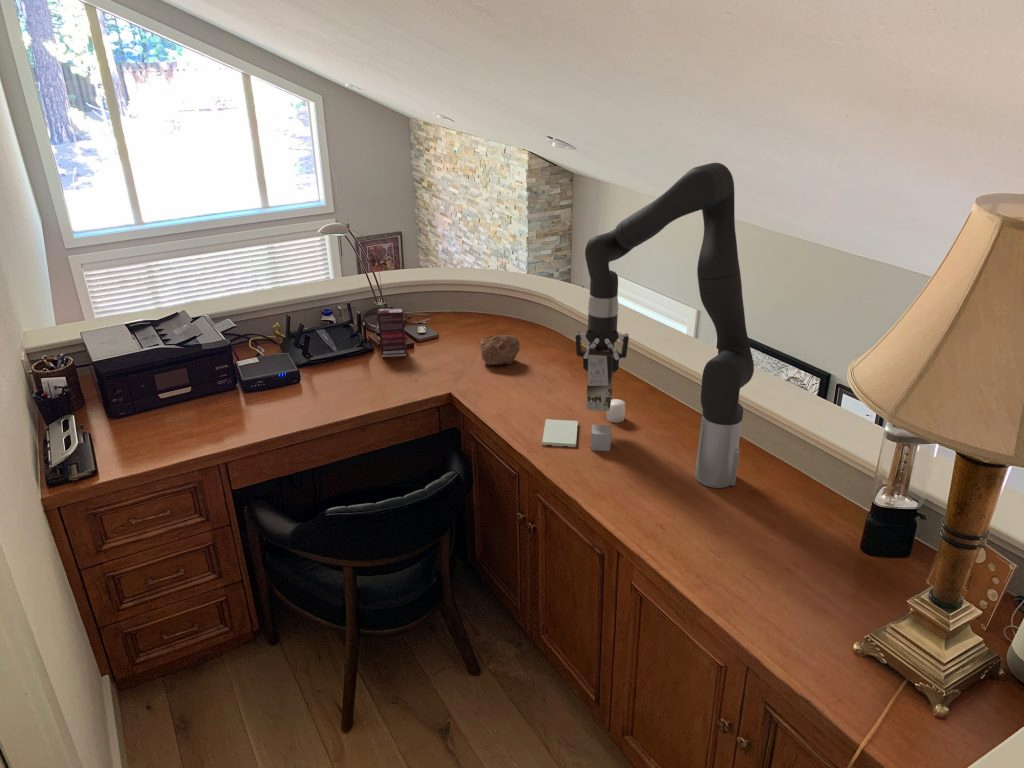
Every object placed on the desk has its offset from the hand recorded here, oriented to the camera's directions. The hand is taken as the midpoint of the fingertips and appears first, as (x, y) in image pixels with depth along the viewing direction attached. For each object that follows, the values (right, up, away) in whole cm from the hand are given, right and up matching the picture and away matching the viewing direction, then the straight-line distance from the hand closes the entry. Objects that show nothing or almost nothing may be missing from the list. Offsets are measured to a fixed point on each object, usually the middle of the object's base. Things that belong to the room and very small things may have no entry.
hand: (600, 370), depth 200 cm
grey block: (0, -20, +1) cm, 20 cm away
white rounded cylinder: (+6, -13, +15) cm, 21 cm away
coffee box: (0, -9, +4) cm, 10 cm away
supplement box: (-64, +6, +58) cm, 86 cm away
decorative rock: (-28, +3, +51) cm, 58 cm away
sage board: (-10, -17, +6) cm, 21 cm away
